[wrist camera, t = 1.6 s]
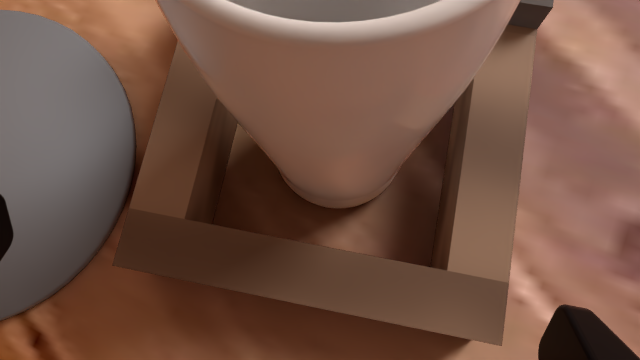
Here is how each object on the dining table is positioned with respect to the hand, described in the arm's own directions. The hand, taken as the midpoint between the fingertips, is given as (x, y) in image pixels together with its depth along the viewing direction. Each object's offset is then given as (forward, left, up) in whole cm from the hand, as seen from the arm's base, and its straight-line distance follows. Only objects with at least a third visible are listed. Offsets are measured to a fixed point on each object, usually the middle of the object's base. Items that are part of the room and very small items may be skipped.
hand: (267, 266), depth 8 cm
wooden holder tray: (+6, +1, -12) cm, 14 cm away
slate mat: (-1, +15, -12) cm, 20 cm away
